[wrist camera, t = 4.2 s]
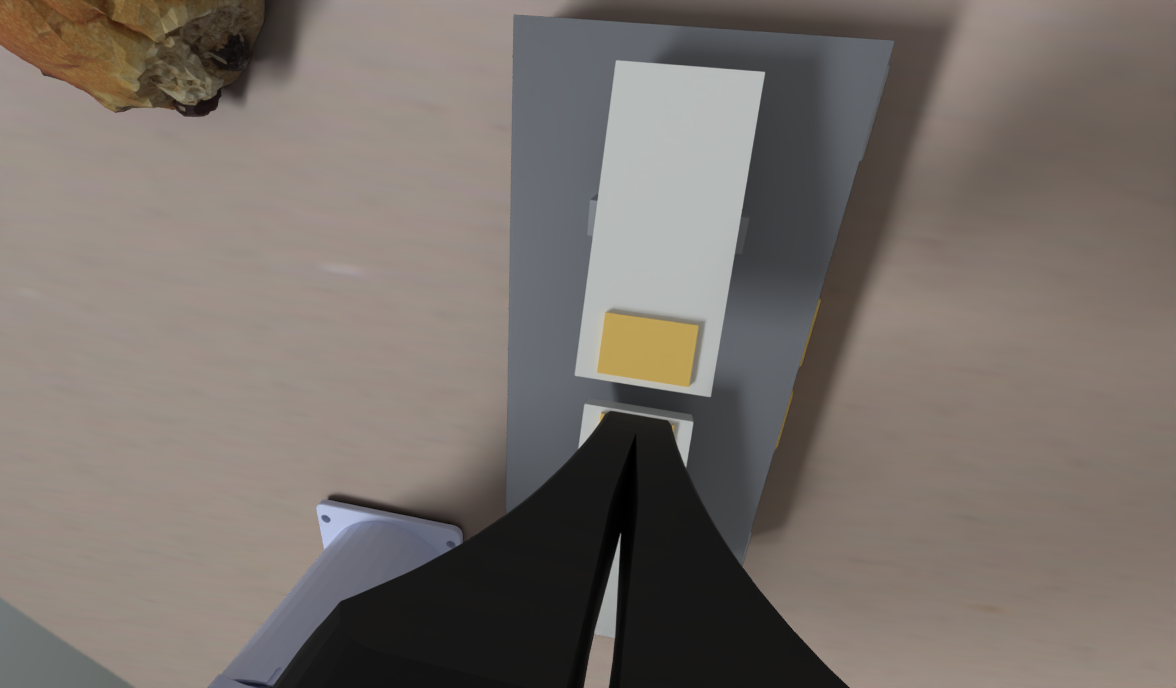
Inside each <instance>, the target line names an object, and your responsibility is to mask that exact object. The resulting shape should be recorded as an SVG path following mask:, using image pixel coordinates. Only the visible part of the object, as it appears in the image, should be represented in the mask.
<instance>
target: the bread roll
mask: <svg viewBox="0 0 1176 688" xmlns="http://www.w3.org/2000/svg"><path fill="white" fill-rule="evenodd" d="M264 13H265V0H0V45H2V46H3V47H4V48H6V49H7V50H9V51H10V52H12V53H13V54H15V55H17V56H18V57H20V58H21V59H23V60H24V61H26V62H28V63H30V64H32V65H34V66H35V67H37V68H39V69H40V70H41V72H42V74H43V75H44V76H49V77H52V78H56V79H59V80H62V81H66V82H68V83H69V84H71V85H73V86H75V87H76V88H78V89H81V90H84V91H85V92H87V93H88V94H90V95H91V96H93V97H94V98H95V99H96V100H97V101H98V102H99V103H100V104H102V105H103V106H104V107H105V108H107V109H109V110H112V111H113V112H115V113H117V112H124V111H127V110H129V109H131V108H156V107H160V108H167V109H171V110H174V109H176V110H177V111H178V112H179V113H181V114H182V115H183V116H189V117H202V116H206V115H208V114H209V113H210V111H214V110H216V108H217V107H218V101H219V98H220V97H221V87H223V86H226V85H230V84H232V83H233V82H234V81H235V80H237V79H238V77H239V76H240V74H241V72H242V71H243V70H245V69H247V63H248V62H249V61H250V60H251V58H252V50H253V45H254V43H255V41H256V38H257V36H258V34H259V32H260V30H261V28H262V25H263V22H264ZM224 69H225V70H224Z"/></svg>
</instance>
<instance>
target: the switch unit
mask: <svg viewBox="0 0 1176 688" xmlns="http://www.w3.org/2000/svg"><path fill="white" fill-rule="evenodd" d="M894 42H895V41H891V40H876V39H862V38H847V37H833V36H818V35H804V34H789V33H775V32H760V31H746V30H731V29H717V28H702V27H688V26H673V25H659V24H644V23H630V22H615V21H600V20H586V19H571V18H557V17H542V16H528V15H514V26H513V88H512V151H511V213H510V276H509V338H508V401H507V463H506V514H507V513H508V512H510V511H511V510H512V509H514V508H515V507H516V506H518V505H519V504H520V503H522V502H523V501H524V500H525V499H527V498H528V497H529V496H530V495H531V494H533V493H534V492H535V491H536V490H537V489H538V488H540V487H541V486H542V485H543V484H544V483H545V482H546V481H547V480H548V479H549V478H550V477H551V476H553V475H554V474H555V473H556V472H557V471H558V470H559V469H560V468H561V467H562V466H563V465H564V464H565V463H566V462H567V461H568V460H569V459H570V458H571V457H572V455H573V454H574V453H575V452H576V451H577V450H578V448H579V440H580V433H581V425H582V418H583V411H584V404H585V402H586V401H587V399H588V398H594V399H600V400H606V401H612V402H618V403H624V404H630V405H637V406H643V407H649V408H655V409H661V410H667V411H673V412H679V413H686V414H692V418H693V428H692V435H691V441H690V447H689V453H688V459H687V465H686V469H687V471H688V474H689V476H690V478H691V480H692V482H693V484H694V486H695V489H696V491H697V493H698V495H699V497H700V499H701V501H702V503H703V504H704V506H705V508H706V510H707V512H708V513H709V515H710V517H711V519H712V521H713V522H714V524H715V526H716V527H717V529H718V531H719V532H720V534H721V536H722V537H723V539H724V540H725V542H726V544H727V545H728V547H729V548H730V550H731V551H732V553H733V554H734V556H735V557H736V558H737V560H738V561H739V563H740V564H741V566H743V562H744V559H745V555H746V552H747V549H748V545H749V542H750V539H751V535H752V525H753V521H754V518H755V515H756V511H757V508H758V504H759V501H760V498H761V494H762V491H763V487H764V484H765V481H766V477H767V474H768V470H769V467H770V464H771V460H772V457H773V453H774V450H775V448H777V447H778V444H779V441H780V437H781V434H782V431H783V427H784V424H785V420H786V417H787V414H788V410H789V407H790V404H791V400H792V397H793V393H794V391H793V385H794V382H795V379H796V375H797V372H798V368H799V366H802V363H803V360H804V356H805V353H806V350H807V346H808V343H809V339H810V336H811V333H812V329H813V326H814V323H815V319H816V316H817V312H818V309H819V306H820V302H821V299H820V298H819V297H820V293H821V290H822V287H823V283H824V280H825V276H826V273H827V270H828V266H829V263H830V259H831V256H832V253H833V249H834V246H835V242H836V239H837V236H838V232H839V229H840V225H841V222H842V219H843V215H844V212H845V208H846V205H847V202H848V198H849V195H850V191H851V188H852V185H853V181H854V178H855V174H856V171H857V168H858V164H859V161H862V160H863V157H864V154H865V150H866V147H867V144H868V140H869V137H870V133H871V130H872V127H873V123H874V120H875V117H876V113H877V110H878V106H879V103H880V100H881V96H882V93H883V90H884V86H885V83H886V79H887V76H888V73H889V69H890V66H891V65H888V62H889V59H890V55H891V52H892V48H893V45H894ZM616 60H619V61H632V62H645V63H657V64H670V65H683V66H696V67H708V68H721V69H734V70H746V71H759V72H765V76H764V82H763V88H762V94H761V100H760V106H759V112H758V117H757V123H756V129H755V135H754V141H753V147H752V153H751V159H750V165H749V171H748V177H747V183H746V189H745V195H744V201H743V207H742V213H741V219H740V225H739V231H738V237H737V243H736V249H735V255H734V261H733V267H732V273H731V279H730V285H729V291H728V297H727V303H726V309H725V315H724V321H723V326H722V332H721V338H720V344H719V350H718V356H717V362H716V368H715V374H714V380H713V386H712V392H711V397H706V396H700V395H693V394H687V393H681V392H674V391H668V390H662V389H656V388H649V387H643V386H637V385H630V384H624V383H618V382H611V381H605V380H599V379H592V378H586V377H580V376H575V368H576V361H577V353H578V346H579V338H580V330H581V323H582V315H583V307H584V300H585V292H586V285H587V277H588V269H589V262H590V254H591V247H592V239H593V231H594V224H595V216H596V208H597V201H598V193H599V186H600V178H601V170H602V163H603V155H604V147H605V140H606V132H607V125H608V117H609V109H610V102H611V94H612V87H613V79H614V71H615V64H616Z"/></svg>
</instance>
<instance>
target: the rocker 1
mask: <svg viewBox="0 0 1176 688" xmlns="http://www.w3.org/2000/svg"><path fill="white" fill-rule="evenodd" d="M764 76H765V72H759V71H746V70H734V69H721V68H708V67H696V66H683V65H670V64H657V63H645V62H632V61H619V60H616V64H615V71H614V79H613V87H612V94H611V102H610V109H609V117H608V125H607V132H606V140H605V147H604V155H603V163H602V170H601V178H600V186H599V193H598V201H597V208H596V216H595V224H594V231H593V239H592V247H591V254H590V262H589V269H588V277H587V285H586V292H585V300H584V307H583V315H582V323H581V330H580V338H579V346H578V353H577V361H576V368H575V376H580V377H586V378H592V379H599V380H605V381H611V382H618V383H624V384H630V385H637V386H643V387H649V388H656V389H662V390H668V391H674V392H681V393H687V394H693V395H700V396H706V397H711V392H712V386H713V380H714V374H715V368H716V362H717V356H718V350H719V344H720V338H721V332H722V326H723V321H724V315H725V309H726V303H727V297H728V291H729V285H730V279H731V273H732V267H733V261H734V255H735V249H736V243H737V237H738V231H739V225H740V219H741V213H742V207H743V201H744V195H745V189H746V183H747V177H748V171H749V165H750V159H751V153H752V147H753V141H754V135H755V129H756V123H757V117H758V112H759V106H760V100H761V94H762V88H763V82H764Z"/></svg>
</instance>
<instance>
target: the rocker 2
mask: <svg viewBox="0 0 1176 688" xmlns="http://www.w3.org/2000/svg"><path fill="white" fill-rule="evenodd" d="M609 411H616V412H622V413H628V414H634V415H640V416H646V417H651V418H657V419H663V420H668V421H669V423H670V424H671V425H672V429H673V433H674V437H675V440H676V443H677V446H678V449H679V452H680V454H681V457H682V460H683V462H684V464H685V467H686V465H687V459H688V453H689V447H690V441H691V435H692V428H693V418H692V414H686V413H679V412H673V411H667V410H661V409H655V408H649V407H643V406H637V405H630V404H624V403H618V402H612V401H606V400H600V399H594V398H588V399H587V401H586V402H585V404H584V411H583V418H582V425H581V433H580V440H579V448H580V447H581V446H582V445H583V443H584V442H585V441H586V440H587V439H588V437H589V436H590V435H591V434H592V432H593V431H594V430H595V429H596V427H597V426H598V424H599V423H600V421H601V420H602V418H603V417H604V415H605V414H606V413H608V412H609ZM579 448H578V449H579ZM620 537H621V534H620ZM619 555H620V538H619V541H618V545H617V549H616V553H615V557H614V560H613V564H612V568H611V572H610V575H609V579H608V583H607V587H606V590H605V594H604V598H603V602H602V605H601V609H600V613H599V617H598V620H597V624H596V628H595V632H594V634H598V635H602V636H607V637H611V638H615V629H616V610H617V592H618V573H619Z"/></svg>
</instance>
